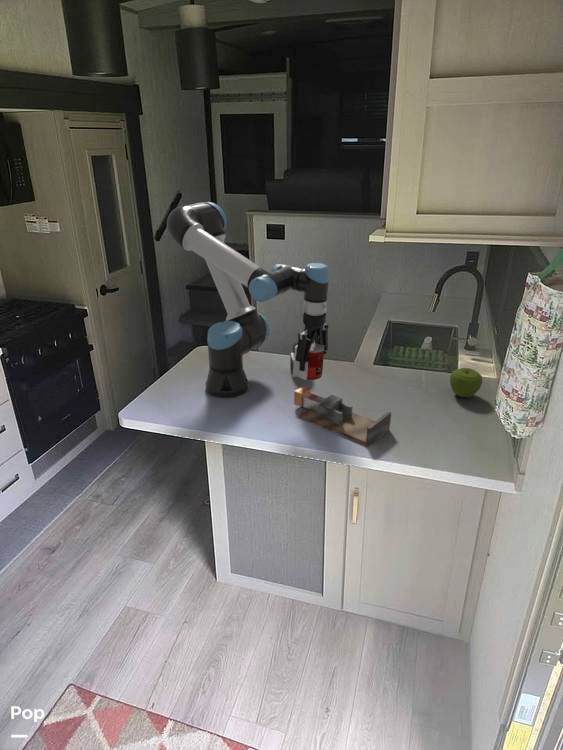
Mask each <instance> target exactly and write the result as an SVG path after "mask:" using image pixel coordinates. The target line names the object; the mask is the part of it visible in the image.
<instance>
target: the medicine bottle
mask: <svg viewBox="0 0 563 750" xmlns="http://www.w3.org/2000/svg"><path fill="white" fill-rule="evenodd" d="M297 346H298V341H297V342H294V344H292V352H291V353H290V361H289V362H290V363H289V364H290V368H289V369H290V372H291V375H292V378H299V377H300V373H299V370H300V369H299V368H300V362H298V361H296V360H295V359H296V352H297Z"/></svg>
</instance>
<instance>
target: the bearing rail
mask: <svg viewBox="0 0 563 750" xmlns="http://www.w3.org/2000/svg"><path fill="white" fill-rule="evenodd" d="M338 404H340V405H339V411H337V410H334V409H332V408H333V407H335V406H336V405H338ZM298 415H299V416H298V417H299V419H303V420H305V421H308V422H310V423H312V424H314V425H317V426H320V427H321V428H324V429H325V430H328V431H331V432H333V433H335V434H337V435H340V436H343V437H344V438H348V439H350V440H352V441H354V442H357V443H359V444H362V445H363V446H366V447H370V446H371V445H373V444H374V443H375V442H377V441H378V440H379V439H380V438H381V437H383V436H384V435H385V434H387V433H388V432H389V431H390V425H391V420H392V419H391V418H392V412H391V411H387V412H386V413H385V414H383V415H382V416H380V417H379V418H378V419H377V420H374V419H370V418H367V417H365V416H362V415H361V414H358V413H355V412H353V405H350V404H347V403H345V402H343V398H342V397H339V396H336V395H334V394H330V395H329V396H327V397H325V399H324V400H322V401H321V402H320V404H318V405H317V412H315V411H313V410H310V409H308V408H306V409H304V410H303V411H301V412H300V413H298Z"/></svg>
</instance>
